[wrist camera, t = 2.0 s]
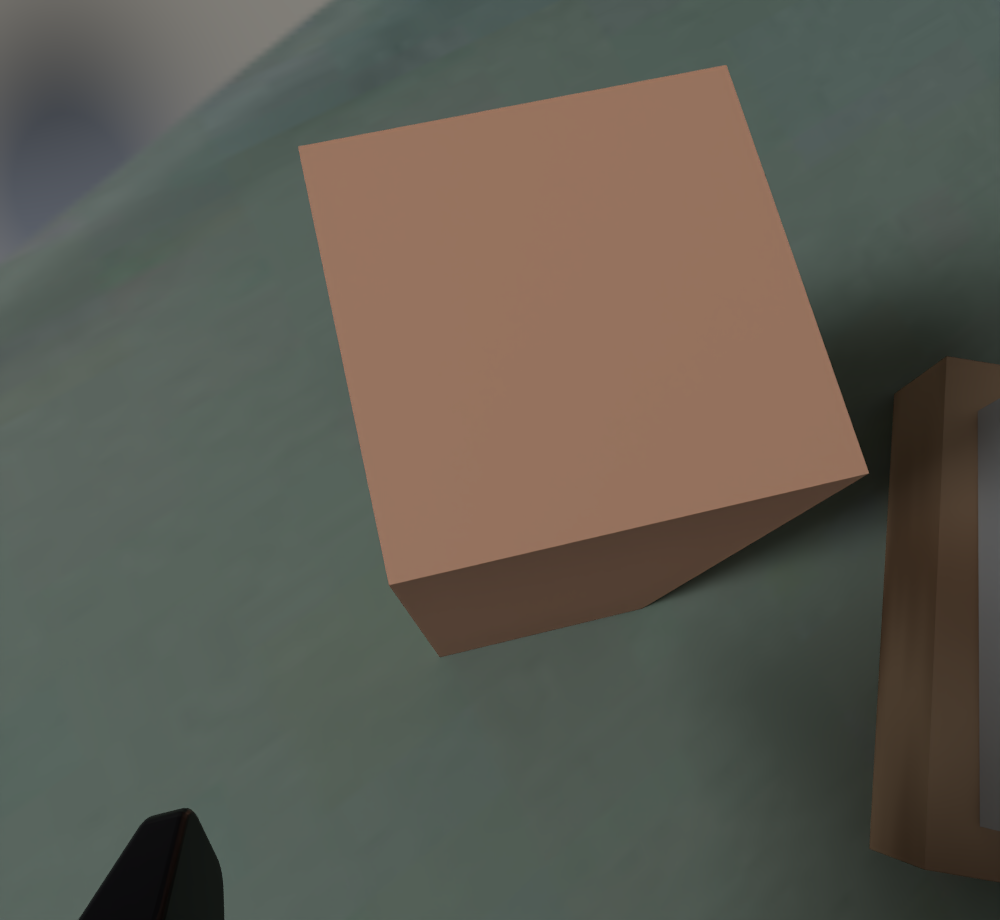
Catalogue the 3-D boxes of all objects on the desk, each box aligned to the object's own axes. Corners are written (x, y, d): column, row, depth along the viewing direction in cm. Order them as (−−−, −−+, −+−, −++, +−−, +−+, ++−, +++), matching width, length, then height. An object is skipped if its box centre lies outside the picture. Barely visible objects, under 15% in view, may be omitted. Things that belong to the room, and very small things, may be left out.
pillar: (641, 608, 20) (868, 473, 9) (440, 657, 20) (389, 585, 8) (589, 416, 21) (726, 64, 10) (396, 458, 21) (297, 146, 9)
